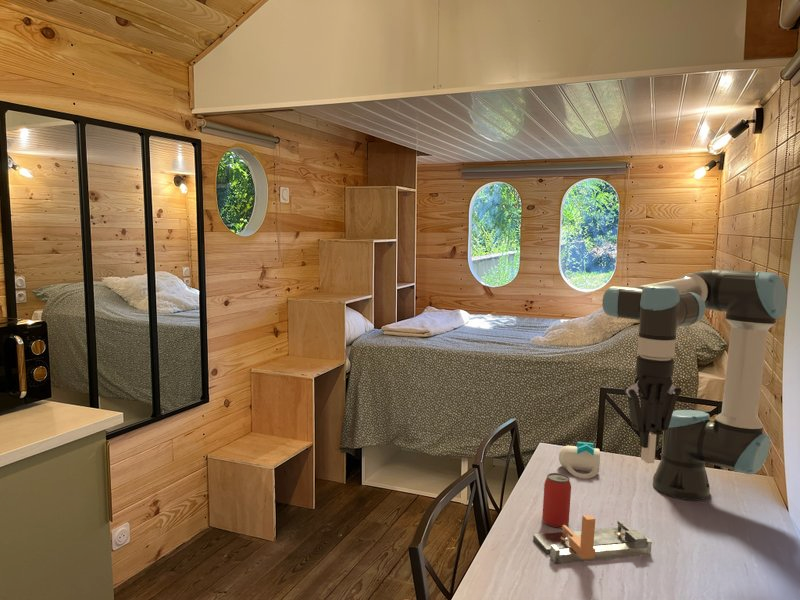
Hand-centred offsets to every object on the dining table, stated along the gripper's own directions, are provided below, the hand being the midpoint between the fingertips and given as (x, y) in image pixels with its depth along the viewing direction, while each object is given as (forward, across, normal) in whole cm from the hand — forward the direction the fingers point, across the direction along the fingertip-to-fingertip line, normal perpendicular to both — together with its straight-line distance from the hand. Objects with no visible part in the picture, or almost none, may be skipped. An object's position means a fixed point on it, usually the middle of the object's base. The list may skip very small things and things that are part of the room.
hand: (647, 460), depth 136 cm
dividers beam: (+23, +8, -6) cm, 25 cm away
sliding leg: (+21, +14, -4) cm, 26 cm away
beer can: (+24, +11, -20) cm, 33 cm away
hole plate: (+23, +8, -9) cm, 26 cm away
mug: (+24, -12, -50) cm, 57 cm away
